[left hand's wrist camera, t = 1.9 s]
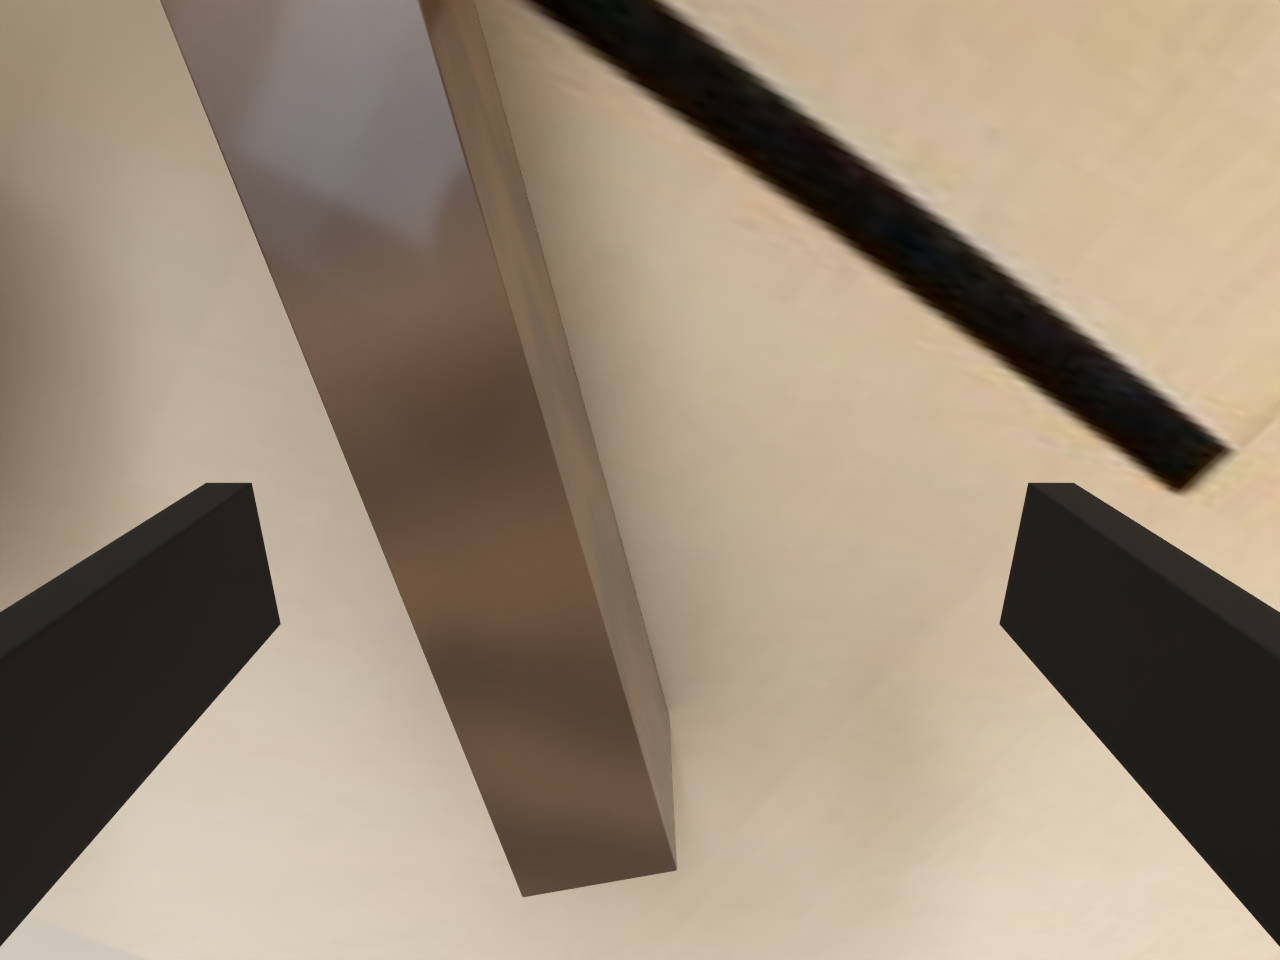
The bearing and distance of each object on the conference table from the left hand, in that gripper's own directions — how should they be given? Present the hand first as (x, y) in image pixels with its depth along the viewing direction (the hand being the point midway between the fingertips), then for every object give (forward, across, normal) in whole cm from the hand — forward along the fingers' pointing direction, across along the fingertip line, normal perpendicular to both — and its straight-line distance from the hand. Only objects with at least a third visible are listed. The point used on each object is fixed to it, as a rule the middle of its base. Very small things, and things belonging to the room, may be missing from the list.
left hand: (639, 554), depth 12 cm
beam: (+16, +9, -15) cm, 23 cm away
